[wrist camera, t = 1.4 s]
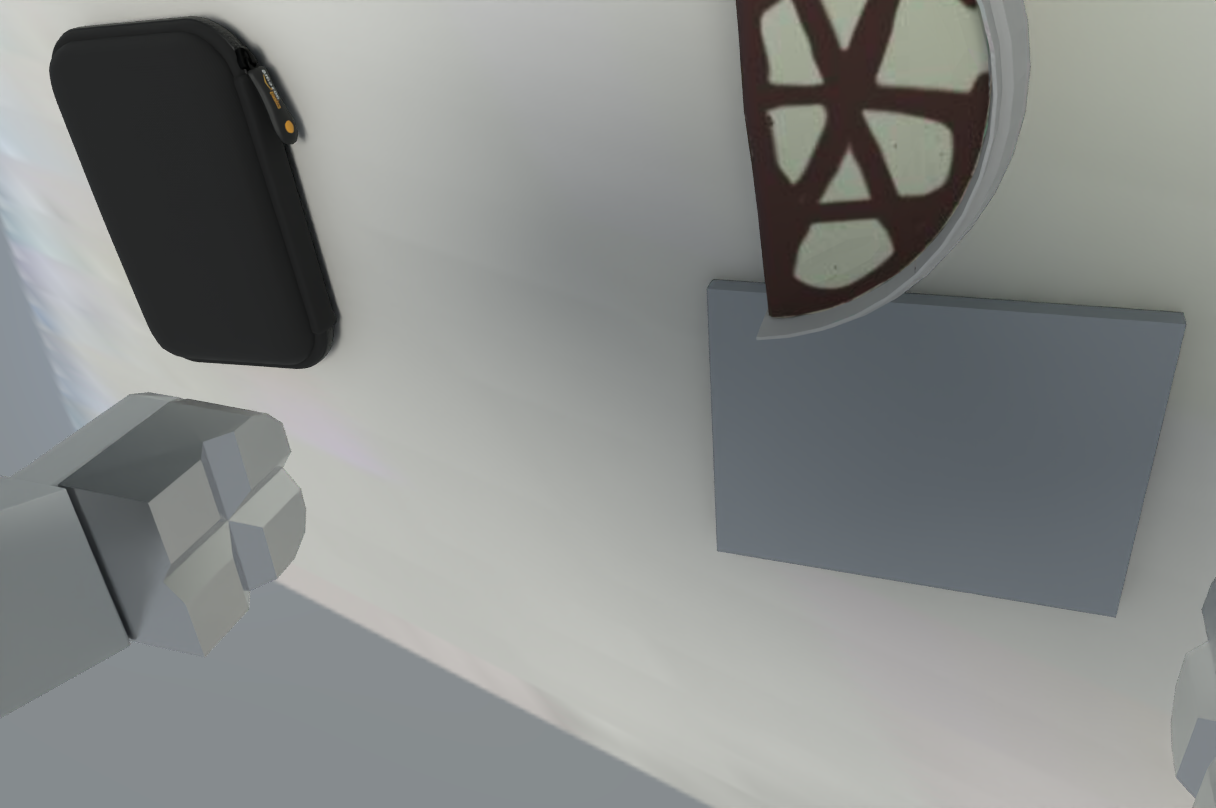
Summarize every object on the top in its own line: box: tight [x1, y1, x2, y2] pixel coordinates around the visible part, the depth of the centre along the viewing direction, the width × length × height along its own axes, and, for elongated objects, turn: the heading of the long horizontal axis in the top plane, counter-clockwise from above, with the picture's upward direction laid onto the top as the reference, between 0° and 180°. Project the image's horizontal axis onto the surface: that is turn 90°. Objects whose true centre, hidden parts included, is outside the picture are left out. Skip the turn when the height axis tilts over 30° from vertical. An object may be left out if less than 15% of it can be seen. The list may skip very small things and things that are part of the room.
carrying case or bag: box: [49, 16, 336, 369], centre depth 41 cm, size 11×3×15 cm
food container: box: [736, 0, 1031, 340], centre depth 25 cm, size 12×6×10 cm, turn 11°
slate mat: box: [707, 280, 1186, 617], centre depth 36 cm, size 15×12×1 cm
